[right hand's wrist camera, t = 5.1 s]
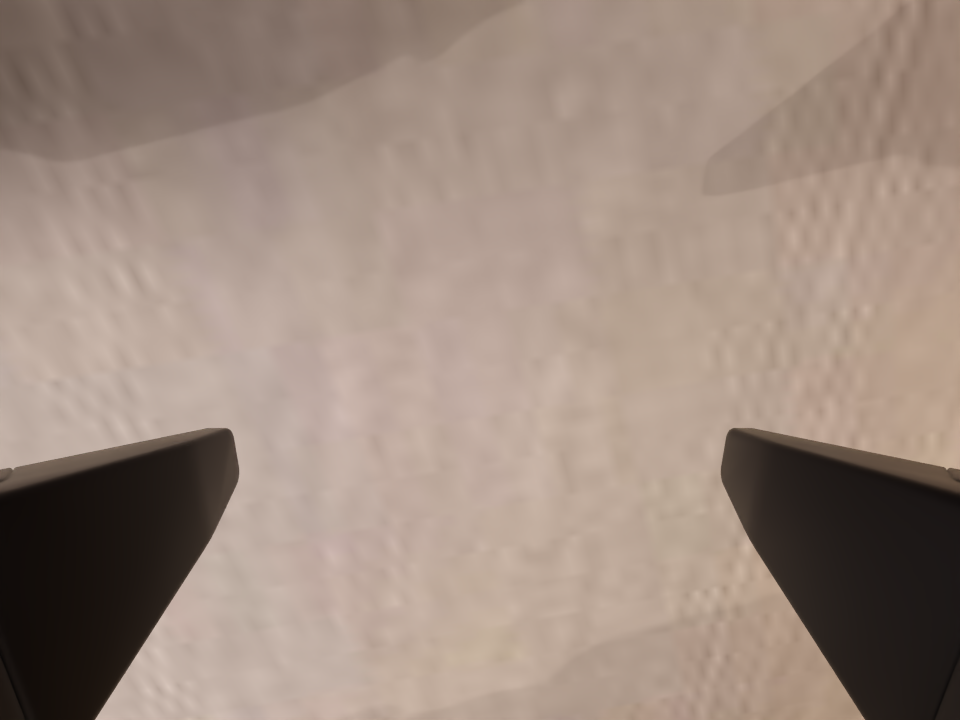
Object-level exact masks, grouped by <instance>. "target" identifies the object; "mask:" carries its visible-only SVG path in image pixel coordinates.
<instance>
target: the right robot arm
mask: <svg viewBox="0 0 960 720" xmlns="http://www.w3.org/2000/svg"><path fill="white" fill-rule="evenodd" d="M238 478H239V465H238V459H237V453H236V448H235V442H234V436H233V434H232V432H231V430H229V429H227V428H207V429H202V430H197V431H192V432H187V433H182V434H177V435H172V436H167V437H162V438H158V439H153V440H148V441H143V442H138V443H133V444H128V445H123V446H118V447H113V448H108V449H104V450H99V451H94V452H89V453H84V454H79V455H74V456H69V457H64V458H59V459H55V460H50V461H45V462H40V463H35V464H30V465H25V466H20V467H16V468H14V470H12V469H11V468H6V469H1V470H0V720H95V719H96V717H97V716H98V714H99V713H100V711H101V709H102V708H103V706H104V705H105V703H106V702H107V700H108V699H109V697H110V695H111V694H112V692H113V691H114V689H115V688H116V686H117V685H118V683H119V681H120V680H121V678H122V677H123V675H124V674H125V672H126V671H127V669H128V667H129V666H130V664H131V663H132V661H133V660H134V658H135V657H136V655H137V653H138V652H139V650H140V649H141V647H142V646H143V644H144V643H145V641H146V639H147V638H148V636H149V635H150V633H151V632H152V630H153V629H154V627H155V625H156V624H157V622H158V621H159V619H160V618H161V616H162V615H163V613H164V611H165V610H166V608H167V607H168V605H169V604H170V602H171V600H172V599H173V597H174V596H175V594H176V593H177V591H178V590H179V588H180V586H181V585H182V583H183V582H184V580H185V579H186V577H187V576H188V574H189V572H190V571H191V569H192V568H193V566H194V565H195V563H196V562H197V560H198V558H199V557H200V555H201V554H202V552H203V551H204V549H205V547H206V546H207V544H208V542H209V541H210V539H211V537H212V535H213V533H214V531H215V529H216V527H217V525H218V523H219V521H220V519H221V517H222V515H223V512H224V510H225V508H226V506H227V504H228V502H229V500H230V498H231V496H232V493H233V491H234V489H235V487H236V485H237V482H238ZM721 478H722V482H723V485H724V487H725V489H726V491H727V493H728V496H729V498H730V500H731V502H732V504H733V506H734V508H735V510H736V512H737V515H738V517H739V519H740V521H741V523H742V525H743V527H744V529H745V531H746V533H747V535H748V537H749V539H750V541H751V542H752V544H753V546H754V547H755V549H756V551H757V552H758V554H759V555H760V557H761V558H762V560H763V562H764V563H765V565H766V566H767V568H768V569H769V571H770V572H771V574H772V576H773V577H774V579H775V580H776V582H777V583H778V585H779V586H780V588H781V590H782V591H783V593H784V594H785V596H786V597H787V599H788V600H789V602H790V604H791V605H792V607H793V608H794V610H795V611H796V613H797V614H798V616H799V618H800V619H801V621H802V622H803V624H804V625H805V627H806V628H807V630H808V632H809V633H810V635H811V636H812V638H813V639H814V641H815V642H816V644H817V646H818V647H819V649H820V650H821V652H822V653H823V655H824V656H825V658H826V660H827V661H828V663H829V664H830V666H831V667H832V669H833V670H834V672H835V674H836V675H837V677H838V678H839V680H840V681H841V683H842V684H843V686H844V688H845V689H846V691H847V692H848V694H849V695H850V697H851V698H852V700H853V702H854V703H855V705H856V706H857V708H858V709H859V711H860V713H861V714H862V716H863V717H864V719H865V720H960V470H959V469H954V468H949V469H948V470H946V468H944V467H940V466H935V465H930V464H925V463H921V462H916V461H911V460H906V459H901V458H896V457H891V456H886V455H881V454H876V453H871V452H866V451H862V450H857V449H852V448H847V447H842V446H837V445H832V444H827V443H822V442H817V441H812V440H808V439H803V438H798V437H793V436H788V435H783V434H778V433H773V432H768V431H763V430H758V429H753V428H733V429H731V430H729V432H728V434H727V436H726V442H725V448H724V453H723V459H722V465H721Z"/></svg>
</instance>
